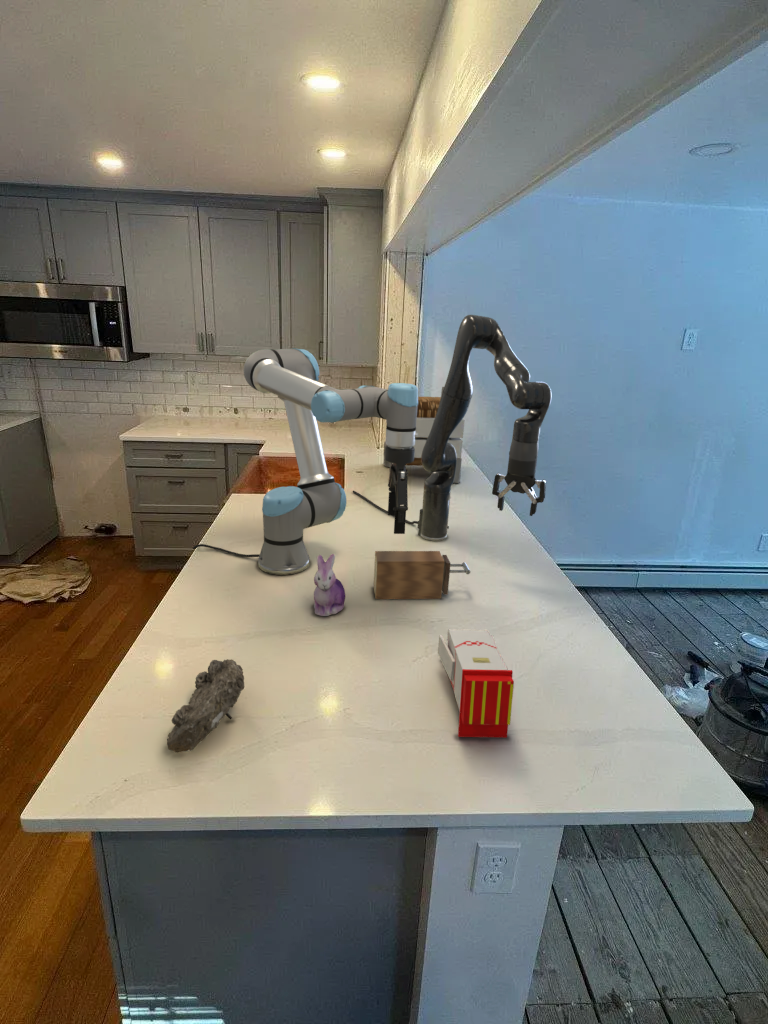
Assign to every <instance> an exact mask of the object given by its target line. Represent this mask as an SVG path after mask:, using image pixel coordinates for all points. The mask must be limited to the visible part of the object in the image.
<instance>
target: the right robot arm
mask: <svg viewBox="0 0 768 1024" xmlns="http://www.w3.org/2000/svg"><path fill="white" fill-rule="evenodd" d="M473 349H477V350H486V351H488V352H489V353H491V355H493V356H494V358H493V368H494V371H495V373H496V375H497V377H499V379H500V381H501V382H502V383H503V384H504V386H505V388H506V391H507V394H508V397H509V401H510V403H511V405H512V406H513V407H515V408H516V409H518V410H527V413H526V414H525V415H523V416H521V417H518V418H516V419H515V420H514V421H513V429H512V436H511V437H512V438H511V442H510V446H509V451H508V461H507V471H506V473H505V474H502V473H501V472H497V473H496V474H495V475H494V480H493V485H492V489H491V490H492V491H491V493H492V495H493V496H496V497H497V509H498V511H500V512H502V511H503V510H504V507H505V506H504V505H505V499H506V497H505V495H507V494H508V492H510V491H511V493H519V494H523V495H524V494H526V496H527V497H528V498H529V500H530V501H531V503H530V508H529V517H533V515H535V514H536V512H537V507H538V504H539V503H541V504H542V503H544V501H545V499H546V490H547V480H546V479H545V478H544V479H542V480H541V479H536V471H537V465H538V458H539V457H538V456H539V448H540V447H539V444H540V443H539V441H540V437H541V436H540V434H541V427H542V425H543V422H544V420H545V418H546V415H547V414H548V413H547V412H548V410H549V408H550V406H551V403H552V398H553V397H552V395H553V394H552V389H551V387H550V385H549V384H548V383H546V382H544V381H530V380H531V374H530V372H529V370H528V368H527V367H526V365H524V363H523V362H522V361H521V359H520V358H518V356H517V355H516V353H515V352H514V351H513V349H512V347H511V346H510V344H509V341H508V340H507V338H506V336H505V334H504V332H503V330H502V328H501V326H500V324H499V323H498V322H497V320H496V319H494V318H492V317H489V316H483V315H477V314H467V315H466V316H464V318H463V319H462V320H461V322H460V324H459V327H458V330H457V334H456V339H455V344H454V349H453V354H452V358H451V363H450V367H449V370H448V373H447V377H446V380H445V383H444V386H443V387H444V389H443V392H442V391H441V392H442V396H441V395H440V397H441V399H440V403H439V407H438V410H437V413H436V416H435V419H434V422H433V426H432V428H431V431H430V434H429V436H428V438H427V441H426V443H425V445H424V448H423V451H422V455H421V463H422V466H421V467H423V470H424V471H426V472H428V473H431V474H430V475H429V476H428V477H427V478H426V479H425V480H424V482H423V493H422V496H423V497H422V506H421V508H420V509H419V516H418V520H412V521H410V520H407V519H406V520H405V524H408V525H411V526H412V525H415V524H416V525H417V527H416V528H417V535H418V536H420V538H421V539H424V540H426V541H432V542H440V541H444V540H446V539H447V538H448V530H449V529H450V526H449V517H450V516H449V514H450V504H451V494H452V493H451V491H452V486H453V484H454V483H453V482H454V477H455V470H456V462H457V455H456V450H455V448H454V447H453V445H452V444H450V443H448V439H449V437H450V435H451V434H452V432H453V431H454V429H455V428H456V427H457V425H458V424H459V423H460V422H461V420H462V419H464V417H465V416H466V414H467V412H468V410H469V407H470V404H471V401H472V398H473V394H474V387H473V382H472V378H471V374H470V370H469V364H470V363H469V362H470V357H471V353H472V351H473ZM503 481H504V482H505V483H506V486H505V487H504V488H503V489H502V490H500V484H501V483H502V482H503ZM535 485H536V486H537V488H538V489H539V494H538V496H537V495H536V493H535V490H534V488H533V487H534V486H535ZM352 493H353V494H355V495H357V496H359V497H360V498H361V499H363V500H364V501H366V502H368V503H369V504H370V505H371V506H373V507H375V508H377V509H378V510H380V511H382V512H384V513H385V514H387V515H388V510H386V509H384V508H383V507H381V506H379V505H378V504H376V503H374V502H373V501H371V500H369V498H367V497H366V496H364V495H363V494H361V493H360V492H358V491H356V490H352ZM391 516H392V517H393V518H395V515H391Z"/></svg>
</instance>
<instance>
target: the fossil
mask: <svg viewBox="0 0 768 1024" xmlns="http://www.w3.org/2000/svg"><path fill="white" fill-rule="evenodd" d="M243 670H244V669H243V667H242V665H240V664H237V662H236V661H235V660H234V659H232V658H231V659H227V658H226V659H224V660H223V661H222V660H217V659H212V660H211V661H210V663H209V665H208V666H207V671H201V672H199V673H198V674H197V675H196V676H195V680H194V684H195V685H194V687H195V689H194V690H193V693H192V694H191V697H190V698H189V700H188V704H184V705H182V706H181V707H180V709H177V710H176V711H175V713H174V715H173V716H172V718H171V723H172V724H173V727H172V730H171V731H170V732H168V734H167V738H166V741H167V742H166V745H167V749H168V750H169V751H173V752H174V753H176V754H178V753H182V752H188V751H189V752H192V751H193V750H195V748H196V747H197V746H199V744H200V743H201V742H203V741H204V740H205V739H206V738H207V737H208V736H209V735H210V734H211V733H212V732H214V730H215V729H217V727H218V726H219V724H220V722H221V721H222V720H223V719H224V718H225V716H226V717H227V719H229V720H233V717H232V715H230V714H229V710H230V709H231V708H234V706H235V704H236V703H237V702H238V699H239V697H240V695H241V693H242V691H243V690H245V689H244V688H245V675H244V671H243Z"/></svg>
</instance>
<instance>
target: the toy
mask: <svg viewBox="0 0 768 1024" xmlns="http://www.w3.org/2000/svg"><path fill="white" fill-rule="evenodd" d="M446 640H447V643H446V641H445V639H444V636H443V635H442V634H439V637H438V646H437V656H438V657H439V659H440V661H441V663H442V666H443V668H444V670H445V672H446V674H447V677H448V679H449V681H450V684H451V687H452V690H453V693H454V697H455V701H456V705H457V708H458V711H459V714H458V715H459V716H458V730H457V731H458V732H457V737H458V738H508V731H509V726H510V725H511V717H512V707H513V697H514V696H513V695H514V684H515V680H514V679H513V673H514V671H513V670H512V669H508V667H507V665H506V662H505V661H504V659H503V658H502V655H501V653H500V651H499V649H498V647H497V643H496V639H495V637H494V635H493V634H491V632H490V631H489V629H467V628H466V629H465V628H463V629H461V628H460V629H459V628H448V630H447V639H446Z"/></svg>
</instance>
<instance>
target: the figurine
mask: <svg viewBox="0 0 768 1024" xmlns="http://www.w3.org/2000/svg"><path fill="white" fill-rule="evenodd" d="M335 559H336V555H335V554H334V553H331V554H330V555H329V557H328V558H327V559H326V561H325V559H324V557H323V556H322V554H319V555H317V557H316V566H317V570H316V572H315V574H314V577H313V582H314V585H315V586H316V587H315V589H314V591H313V601H314V604H313V609H314V614H315V615H316V616H321V617H328V616H331V615H337V614H338V613H340V612H341V611H342V610H343V609H344V608H345V604H346V603H345V601H346V590H345V586H344V585H343V583H342V581H340V580H339V579H338V578H337V577H336V574H335V572H334V570H333V568H334V563H335Z"/></svg>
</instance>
